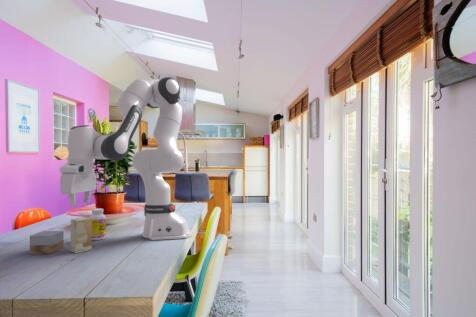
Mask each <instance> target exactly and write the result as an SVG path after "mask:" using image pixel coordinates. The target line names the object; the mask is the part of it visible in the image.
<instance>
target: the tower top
mask: <svg viewBox="0 0 476 317" xmlns="http://www.w3.org/2000/svg"><path fill="white" fill-rule="evenodd" d="M62 240H64V230H42V231H39V232H36V233H33V234H30V235H29V246H30V245H53V244H55V243H57V242H60V241H62Z"/></svg>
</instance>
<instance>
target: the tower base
mask: <svg viewBox="0 0 476 317" xmlns="http://www.w3.org/2000/svg"><path fill="white" fill-rule="evenodd" d="M64 242H65V241H64V239H63V240H62V241H60V242H57V243H55V244H53V245H30V244H29V255H52V254H55V253H56V252H59V251H61V250H62V249H64V248H65V246H64Z"/></svg>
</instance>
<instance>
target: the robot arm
mask: <svg viewBox="0 0 476 317" xmlns="http://www.w3.org/2000/svg"><path fill="white" fill-rule="evenodd" d="M180 94H181V88H180V84H179V82H178V81H177V79H176V78H174V77H169V76H168V77H167V76H166V77H163V78H162V77H161V79H159V80H156V81H155V82H154V83H152V84H150V83H149V82H148V80H145V79H142V78H137V79H135V80H133V81H132V82H131V83H130V84H129V85H128V86H127V87H126V88H125V89H124V90H123V92H122V94H121V95H120V96H119V97H118V100H117V102H116V108H117V111H118V113H119V114H120V115H121V116H122V117H123V119H122V120H121V122H120V124H119V126H118V128H117V130H116V131H115V132H113V133H111V134H105V135H104V134H102V133H99V132H98V131H97V130H95V129H94V128H93V127H92V125H89V124H88V125H87V124H86V125H85V124H83V125H75V126H72V127H71V128H70V129H69V131H68V136H67V152H68V157H67V162H66V163H65V164H63V165H61V166H60V167H59V173H60V179H59V180H60V182H59V186H60V187H59V188H60V192H61V194H62V195H67V198H68V200H69V206H70V207H76V206H77V205H78V200H76V194H80V193H84V197H83V199H82V203H83V204H89V202H90V198H91V195H92V191H96V190H97V187H98V186H97V174H96V172H95V170H94V159H95V160H111V161H121V160H123V159H124V158H125V157H126V156H127V155H128V153H129V150H130V147H131V146H130V145H131V140H132V139H133V137H134V135H135V132H136V131H137V129H138V126H139V125H140V122H141V120H142V119H143V118H142V117H143V111H144V110H145V108H146V107H148V108H150V109H159V114H158V117H157V120H156V123H155V127H154V130H153V138H154V140H155V141H156V142H157V144H158V146H157V148H148V149H142V150H139V151H137V152H135V153H134V155H133V156H132V166H133V168H134V169H135V170H136V172H138V173H139V175H140V177H141V178H142V181H143V185H144V192H145V193H144V196H145V198H144V199H145V204H144V208H143V210H144V211H143V214H144V227H143V229H142V230H143V231H142V234H141V236H142V238H145V239H148V240H151V241H158V240H159V241H161V240H178V239H188V238H190V237H191V236H192V235H193V234H194V231H193V230H192V229H190V228H189V225H188V222H187V219H186V218H185V217H183V216H182V215H181V214H179V213H178V212H176V204H173V203H172V201H171V200H172V199H171V198H172V197H171V196H172V195H171V186H170V184H169V183H168V182H167V181H165V180H164V178H163V174H173V173H177V172H180V171H181V170H182V169H183V167H184V164H185V163H184V162H185V159H184V155H183V153H182V152H181V151H180V150H179V148H178V137H179V134H180V129H181V125H182V119H183V107H182V105H180V104H179V101H180V100H181V96H180Z"/></svg>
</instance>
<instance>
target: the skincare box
mask: <svg viewBox="0 0 476 317" xmlns="http://www.w3.org/2000/svg"><path fill="white" fill-rule="evenodd" d="M92 241H93V240H92V218H89V217H87V216H84V217H80V218H79V217H78V218H72V219H70V252H72V253H74V254H80V253H83V252H88V251H92Z"/></svg>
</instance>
